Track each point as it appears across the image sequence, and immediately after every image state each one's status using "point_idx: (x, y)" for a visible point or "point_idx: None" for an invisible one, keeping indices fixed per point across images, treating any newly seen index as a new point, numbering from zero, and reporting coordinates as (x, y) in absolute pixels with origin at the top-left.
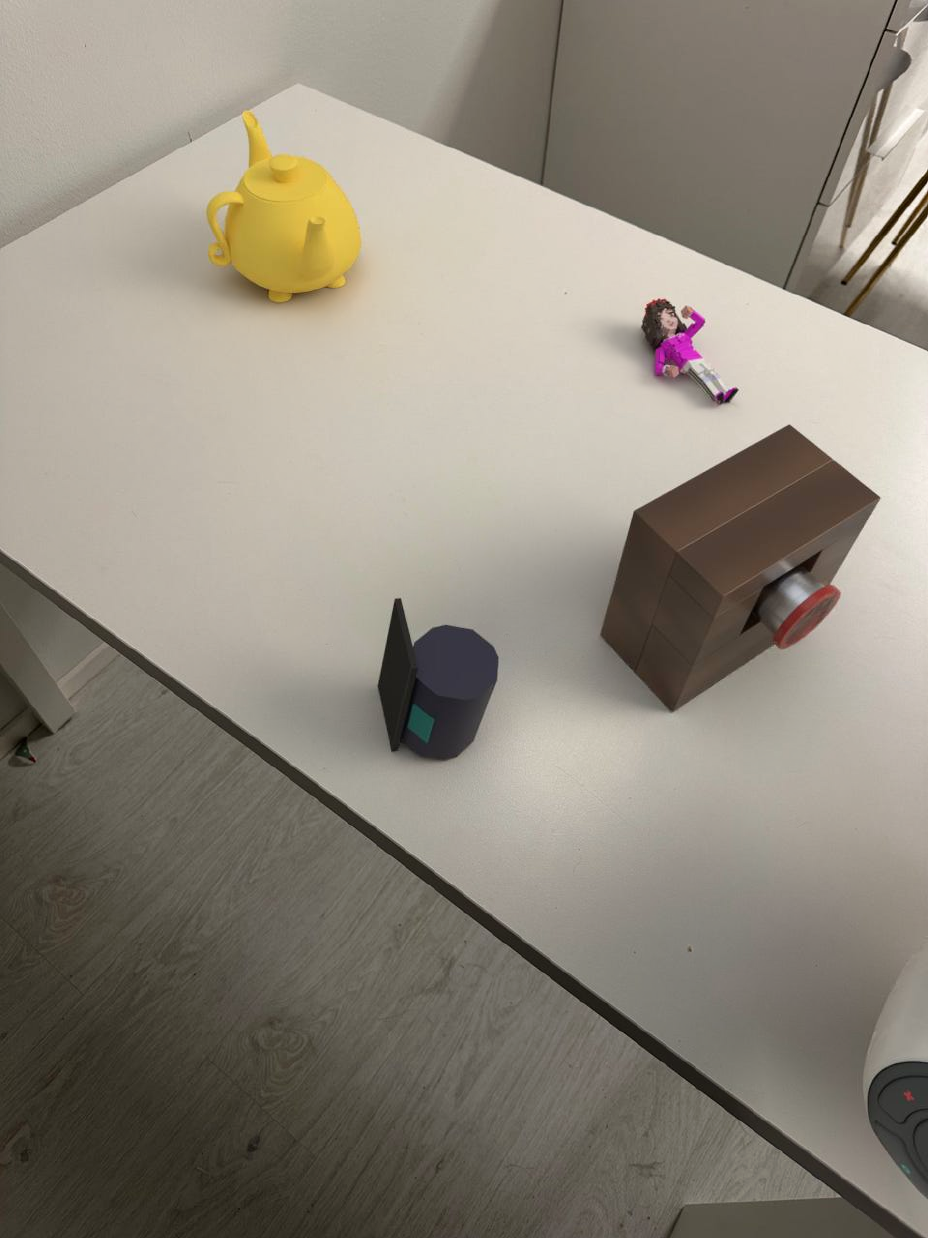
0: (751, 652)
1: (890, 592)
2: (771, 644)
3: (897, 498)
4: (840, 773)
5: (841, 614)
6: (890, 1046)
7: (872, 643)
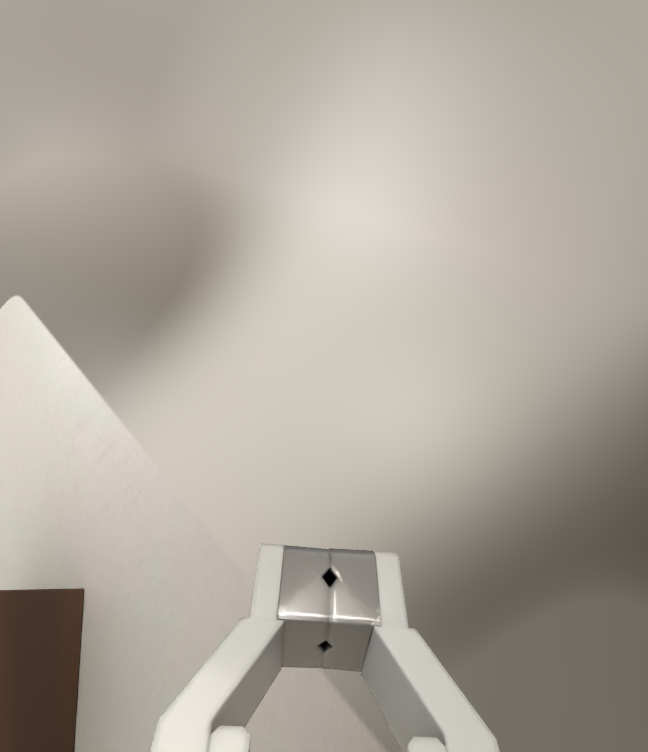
0: (44, 737)
1: (109, 456)
2: (71, 673)
3: (63, 382)
4: None
5: (97, 536)
6: None
7: (132, 523)
